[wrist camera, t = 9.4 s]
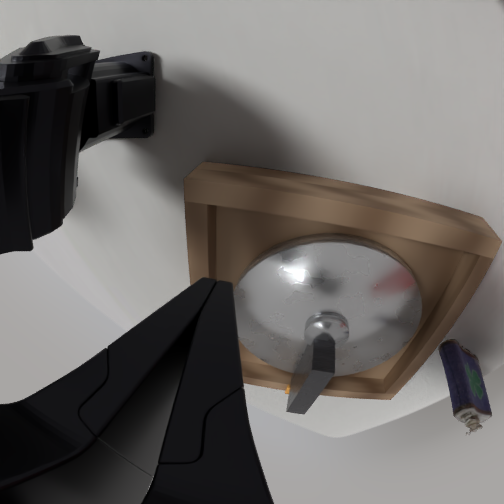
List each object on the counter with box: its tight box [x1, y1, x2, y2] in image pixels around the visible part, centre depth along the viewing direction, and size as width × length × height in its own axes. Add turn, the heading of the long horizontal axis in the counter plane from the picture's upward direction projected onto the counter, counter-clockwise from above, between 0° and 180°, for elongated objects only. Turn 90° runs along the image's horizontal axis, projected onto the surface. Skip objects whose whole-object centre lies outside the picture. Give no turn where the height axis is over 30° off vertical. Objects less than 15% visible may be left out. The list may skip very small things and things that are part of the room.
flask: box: [438, 339, 492, 435], centre depth 22 cm, size 9×3×11 cm, turn 59°
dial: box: [234, 233, 422, 414], centre depth 21 cm, size 17×16×5 cm
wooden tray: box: [184, 162, 502, 400], centre depth 23 cm, size 22×22×4 cm
